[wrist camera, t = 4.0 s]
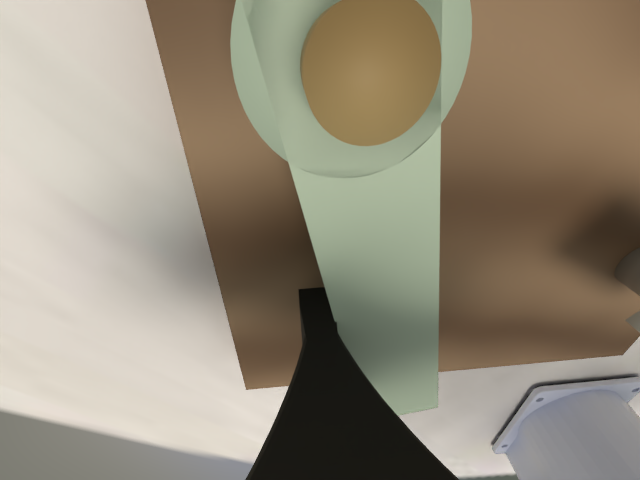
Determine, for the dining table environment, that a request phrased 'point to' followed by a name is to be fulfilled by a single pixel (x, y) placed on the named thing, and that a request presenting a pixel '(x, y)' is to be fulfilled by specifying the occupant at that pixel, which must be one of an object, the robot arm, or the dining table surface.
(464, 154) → the board
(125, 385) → the dining table surface
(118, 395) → the dining table surface
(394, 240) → the link
